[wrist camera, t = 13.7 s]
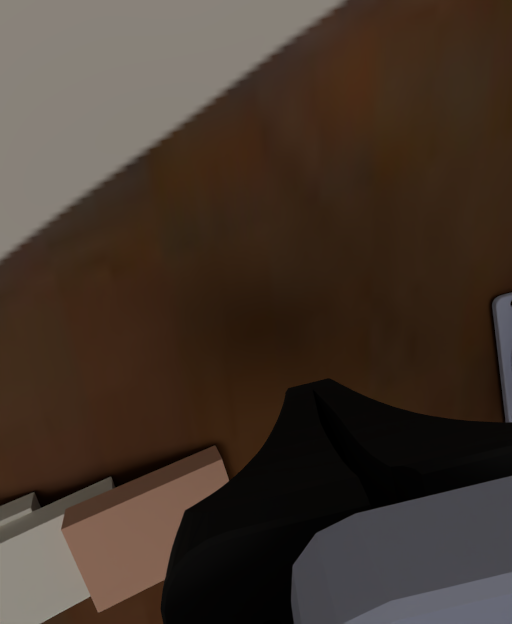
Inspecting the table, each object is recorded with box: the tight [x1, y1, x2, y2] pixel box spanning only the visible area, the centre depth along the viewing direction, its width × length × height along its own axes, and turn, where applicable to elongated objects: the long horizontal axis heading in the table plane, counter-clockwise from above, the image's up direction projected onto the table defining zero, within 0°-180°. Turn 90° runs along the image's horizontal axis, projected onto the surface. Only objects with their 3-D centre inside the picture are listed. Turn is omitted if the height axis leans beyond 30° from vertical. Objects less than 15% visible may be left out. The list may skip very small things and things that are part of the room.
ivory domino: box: [0, 477, 116, 624], centre depth 21 cm, size 2×5×8 cm
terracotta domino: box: [61, 445, 229, 613], centre depth 21 cm, size 2×5×8 cm
